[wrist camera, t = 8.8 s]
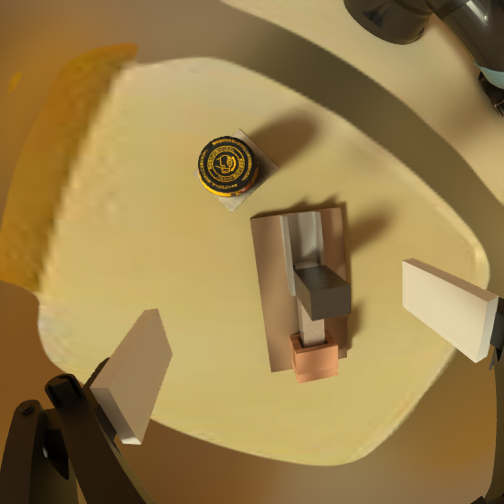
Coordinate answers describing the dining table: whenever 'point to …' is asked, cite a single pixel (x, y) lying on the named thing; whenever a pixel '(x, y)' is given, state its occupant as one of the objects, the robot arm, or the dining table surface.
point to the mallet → (318, 300)
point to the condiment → (233, 168)
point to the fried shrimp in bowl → (493, 94)
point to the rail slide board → (283, 287)
